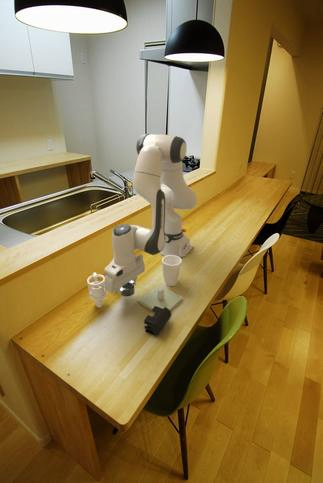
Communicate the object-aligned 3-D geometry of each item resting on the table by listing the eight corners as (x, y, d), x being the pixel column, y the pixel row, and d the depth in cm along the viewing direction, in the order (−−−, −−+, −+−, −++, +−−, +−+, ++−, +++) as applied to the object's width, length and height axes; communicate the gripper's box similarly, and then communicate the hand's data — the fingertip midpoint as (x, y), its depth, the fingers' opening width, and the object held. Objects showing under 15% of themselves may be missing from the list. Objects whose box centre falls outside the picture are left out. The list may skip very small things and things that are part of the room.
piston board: (158, 287, 120) (158, 276, 117) (182, 300, 113) (183, 288, 110) (138, 302, 111) (138, 291, 108) (163, 317, 103) (163, 305, 100)
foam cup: (168, 290, 118) (168, 267, 112) (157, 280, 125) (158, 258, 119) (184, 284, 123) (185, 261, 117) (173, 274, 130) (174, 253, 124)
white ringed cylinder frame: (106, 298, 113) (103, 270, 106) (109, 308, 107) (105, 280, 100) (90, 301, 111) (85, 273, 104) (92, 312, 105) (87, 283, 98)
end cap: (160, 339, 93) (160, 326, 90) (143, 332, 96) (143, 319, 93) (171, 321, 101) (171, 308, 98) (155, 315, 104) (155, 303, 101)
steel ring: (127, 285, 115) (127, 279, 113) (137, 291, 111) (136, 284, 110) (117, 292, 111) (116, 286, 109) (127, 298, 107) (126, 292, 105)
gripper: (137, 250, 112) (138, 275, 119) (100, 271, 98) (104, 297, 105) (147, 255, 109) (148, 280, 115) (111, 277, 95) (114, 304, 102)
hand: (127, 288), depth 110 cm, fingers closed on steel ring, 6 cm apart
